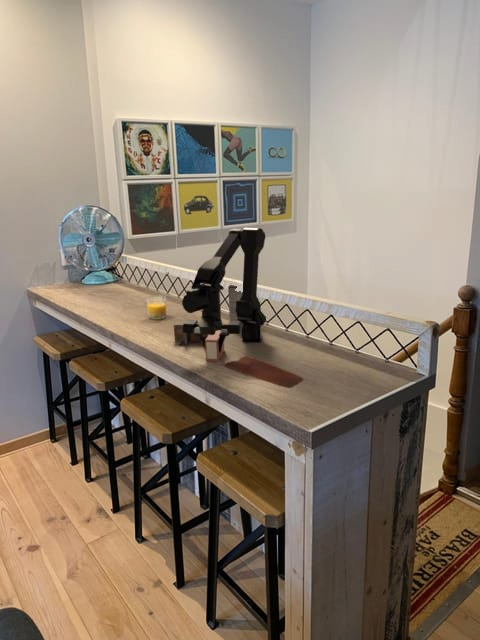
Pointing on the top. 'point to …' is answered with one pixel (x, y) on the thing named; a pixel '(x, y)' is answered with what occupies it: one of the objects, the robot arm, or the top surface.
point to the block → (213, 347)
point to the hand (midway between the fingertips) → (213, 352)
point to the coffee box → (233, 302)
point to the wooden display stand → (180, 335)
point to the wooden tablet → (265, 371)
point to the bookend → (186, 340)
